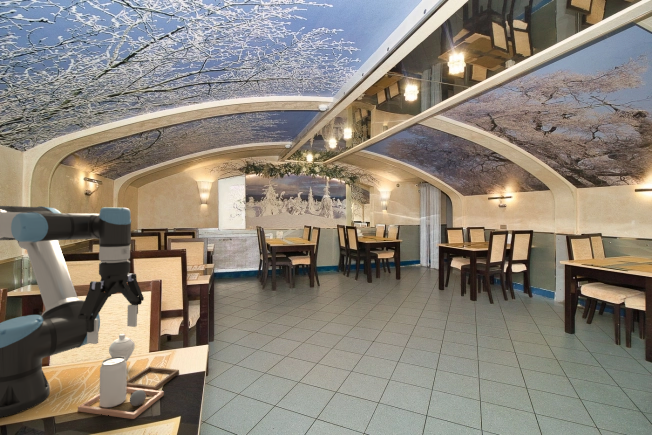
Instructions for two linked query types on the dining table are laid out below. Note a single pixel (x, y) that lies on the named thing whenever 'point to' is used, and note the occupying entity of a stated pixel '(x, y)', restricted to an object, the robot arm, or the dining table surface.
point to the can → (113, 382)
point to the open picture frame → (117, 413)
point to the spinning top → (122, 347)
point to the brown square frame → (153, 369)
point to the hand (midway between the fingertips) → (113, 334)
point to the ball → (137, 397)
